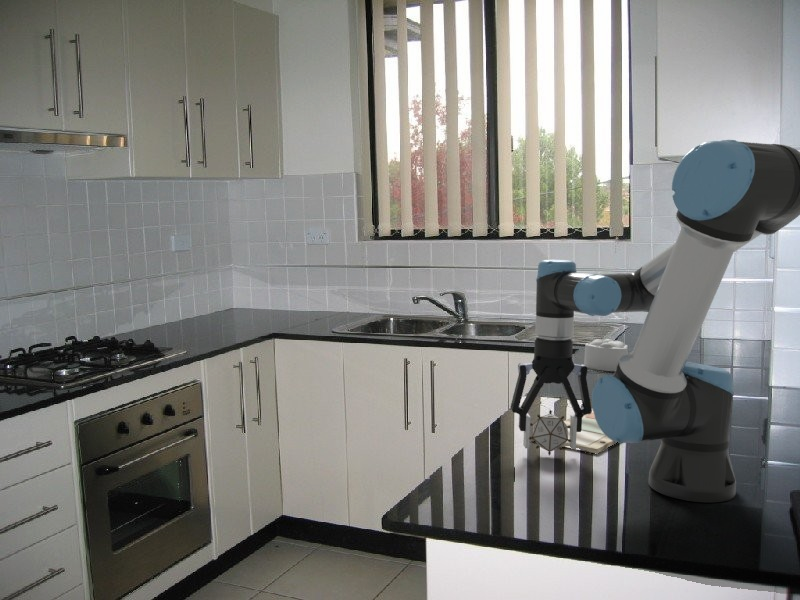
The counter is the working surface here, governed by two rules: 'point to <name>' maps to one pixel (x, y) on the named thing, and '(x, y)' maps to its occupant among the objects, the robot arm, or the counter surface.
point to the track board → (590, 435)
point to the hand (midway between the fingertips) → (549, 446)
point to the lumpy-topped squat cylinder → (604, 354)
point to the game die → (550, 432)
